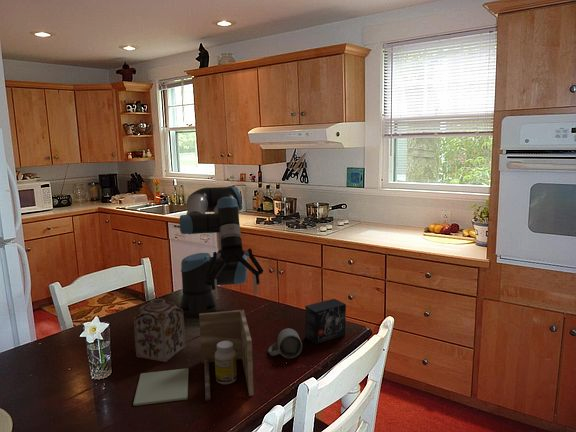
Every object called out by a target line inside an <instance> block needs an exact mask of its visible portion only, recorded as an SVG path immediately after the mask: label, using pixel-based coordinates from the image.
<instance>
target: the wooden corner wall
mask: <svg viewBox="0 0 576 432" xmlns="http://www.w3.org/2000/svg"><path fill="white" fill-rule="evenodd" d="M247 321H248V320H247V318H246V313H245V309H237V310H225V311H224V310H222V311H216V312H211V313H200V314H199V332H200V333H199V335H200V339H199V340H200V355H201V357H200V358H201V364H204V366H203V367H204V395H205V397H204V400H205V401H206V402H209V401H211V398H212V397H211V378H210V376H211V374H210V363H215V352H216V351H217V344H218V343H219V342H222V341H230V342H232V343H233V350H234V351H235V352H236V360H241V361H242V365H243V371H244V372H243V373H244V375H245V381H246V382H245V383H246V386H247V391H248V396H249V397H250V396H254V395H255V393H254V372H253V371H254V369H253V368H254V366H253V364H254V363H253V340H252V336H251V333H250V330H249V325H248V322H247Z"/></svg>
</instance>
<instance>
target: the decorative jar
mask: <svg viewBox="0 0 576 432" xmlns="http://www.w3.org/2000/svg"><path fill="white" fill-rule="evenodd" d="M179 306H180V305H177V304H176V303H175V302H174V301H168V300H165V299H164V298H154V299H151V300H150V302H148V303H146V304H144V305H142V306H141V307H139V309H138V311H137V312H136V314H135V316H134V318H133V328H134V342H135V343H134V344H135V352H136V353H135V354H136V357H137V358H139V359H144V360H151V361H157V362H162V363H167V362H168V361H169V360H170V359H172V358H173V357H174V356H176V355H177V354H178V353H179V352H180V351H181V350H183V349H184V348H186V333H185V320H184V316H183V310H182V309H181V308H180V307H179Z"/></svg>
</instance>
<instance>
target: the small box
mask: <svg viewBox="0 0 576 432" xmlns="http://www.w3.org/2000/svg"><path fill="white" fill-rule="evenodd" d="M346 309H347V304H346V303H344V302H342V301H340V300H338V299H336V298H332V299H327V300H323V301H319V302H315V303H311V304H307V305H305V324H304V325H305V326H304V327H305V329H304V333H305V334H304V338H305V339H307V340H308V341H310V342H312V343H313V344H315V345H318V344H322V343H325V342H328V341H329V342H330V341H331V340H335V339H339V338H342V337H345V336H346V316H347V315H346V313H347V311H346Z"/></svg>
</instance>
